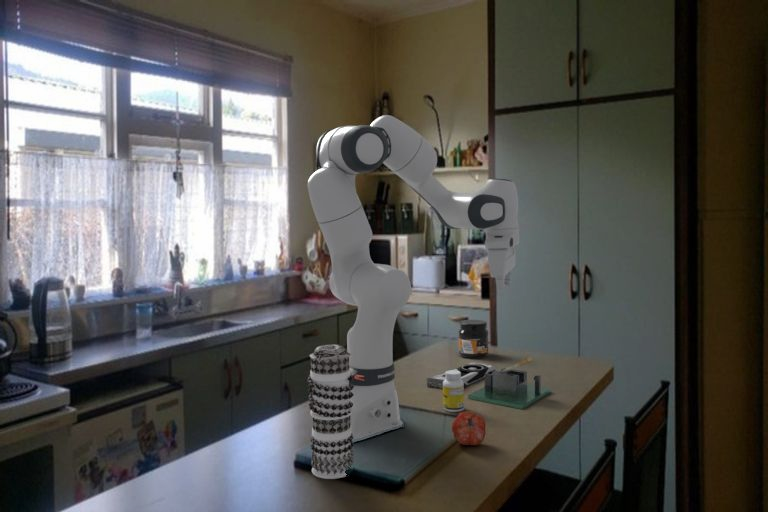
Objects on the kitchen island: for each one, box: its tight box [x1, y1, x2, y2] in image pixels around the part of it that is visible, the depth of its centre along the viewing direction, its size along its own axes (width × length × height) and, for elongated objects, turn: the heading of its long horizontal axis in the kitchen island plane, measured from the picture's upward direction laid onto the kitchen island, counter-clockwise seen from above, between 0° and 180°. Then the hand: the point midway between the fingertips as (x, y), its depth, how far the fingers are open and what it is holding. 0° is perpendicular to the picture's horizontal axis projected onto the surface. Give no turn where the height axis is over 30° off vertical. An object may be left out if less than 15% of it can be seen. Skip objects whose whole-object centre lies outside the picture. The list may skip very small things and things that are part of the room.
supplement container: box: [457, 319, 490, 359], centre depth 218 cm, size 10×10×12 cm
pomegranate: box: [451, 410, 486, 446], centre depth 137 cm, size 7×7×10 cm
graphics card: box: [426, 362, 496, 390], centre depth 188 cm, size 10×3×25 cm
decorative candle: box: [306, 344, 355, 480], centre depth 124 cm, size 9×9×25 cm
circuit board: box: [467, 367, 552, 410], centre depth 171 cm, size 18×16×6 cm
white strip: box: [492, 357, 532, 375], centre depth 171 cm, size 3×14×1 cm, turn 52°
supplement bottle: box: [442, 369, 465, 413], centre depth 160 cm, size 5×5×10 cm
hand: (504, 288), depth 170 cm, fingers open, 8 cm apart
